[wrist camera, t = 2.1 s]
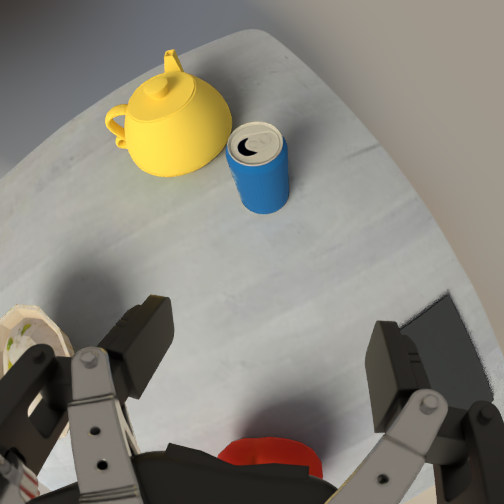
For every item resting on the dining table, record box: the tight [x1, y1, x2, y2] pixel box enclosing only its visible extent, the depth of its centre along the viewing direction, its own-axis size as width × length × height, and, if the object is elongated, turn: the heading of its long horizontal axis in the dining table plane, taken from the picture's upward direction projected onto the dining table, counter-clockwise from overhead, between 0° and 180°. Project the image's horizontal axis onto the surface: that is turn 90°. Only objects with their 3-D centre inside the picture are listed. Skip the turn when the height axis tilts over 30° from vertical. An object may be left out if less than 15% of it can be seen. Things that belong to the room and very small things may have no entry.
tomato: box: [217, 437, 323, 479], centre depth 27 cm, size 13×12×8 cm
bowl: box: [0, 304, 75, 439], centre depth 33 cm, size 19×19×10 cm
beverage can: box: [226, 122, 289, 214], centre depth 35 cm, size 6×6×12 cm
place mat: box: [400, 295, 494, 410], centre depth 31 cm, size 18×12×1 cm, turn 27°
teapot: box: [105, 50, 232, 177], centre depth 40 cm, size 20×19×13 cm
